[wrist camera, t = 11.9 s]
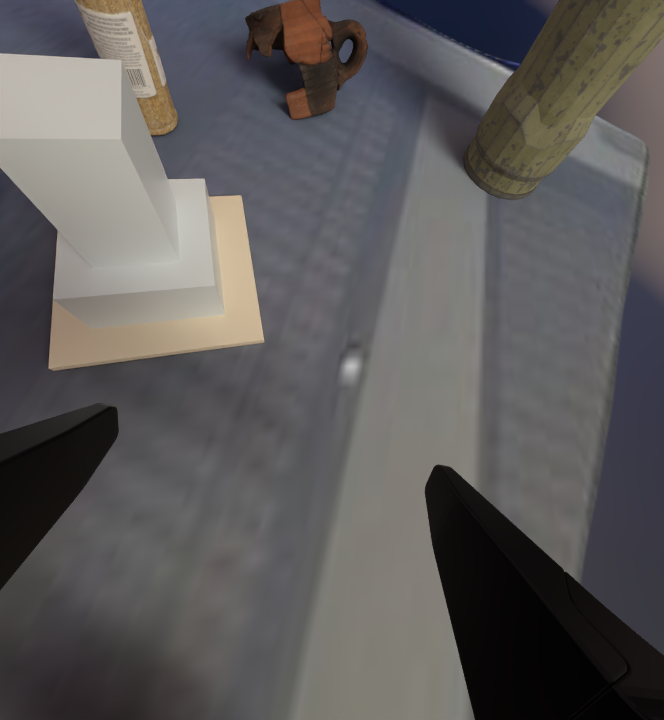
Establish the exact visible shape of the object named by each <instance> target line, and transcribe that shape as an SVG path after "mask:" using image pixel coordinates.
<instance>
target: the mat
mask: <svg viewBox="0 0 664 720" xmlns="http://www.w3.org/2000/svg"><path fill="white" fill-rule="evenodd" d="M209 198H210V202H211V206H212V210H213V214H214V218H215V224H216V233H217V242H218V251H219V261H220V270H221V279H222V288H223V298H224V307H225V315H219V316H209V317H200V318H190V319H181V320H171V321H162V322H152V323H143V324H133V325H124V326H114V327H104V328H95V329H91V328H90V327H88V326H87V325H86V324H84V323H83V322H82V321H80V320H79V319H78V318H76V317H75V316H74V315H72V314H71V313H70V312H68V311H67V310H66V309H64V308H63V307H62V306H61V305H59V304H58V303H57V302H55V301H54V300H53V307H52V323H51V338H50V353H49V368H48V369H51V370H53V371H56V370H63V369H71V368H78V367H86V366H93V365H101V364H108V363H115V362H123V361H130V360H138V359H145V358H152V357H160V356H167V355H175V354H182V353H190V352H197V351H204V350H212V349H219V348H227V347H234V346H241V345H249V344H256V343H264V337H263V331H262V325H261V318H260V312H259V306H258V299H257V293H256V286H255V280H254V274H253V267H252V261H251V254H250V248H249V242H248V235H247V229H246V223H245V216H244V210H243V203H242V197H241V196H214V197H209ZM57 239H58V232H57ZM56 251H57V247H56ZM55 264H56V262H55Z"/></svg>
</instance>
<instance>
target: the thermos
mask: <svg viewBox="0 0 664 720" xmlns="http://www.w3.org/2000/svg"><path fill="white" fill-rule="evenodd" d="M663 37H664V0H559V1H558V3H557V5H556V6H555V8H554V10H553V11H552V13H551V15H550V16H549V18H548V20H547V22H546V23H545V25H544V27H543V28H542V30H541V32H540V34H539V35H538V37H537V38H536V40H535V42H534V44H533V46H532V47H531V49H530V50H529V52H528V54H527V56H526V57H525V59H524V60H523V62H522V64H521V66H520V67H519V68H518V69H517V70H516V71H515V72H514V73H513V74H512V75H511V76H510V77H509V78H508V80H507V81H506V83H505V84H504V85H503V87H502V88H501V90H500V91H499V92H498V94H497V95H496V97H495V98H494V100H493V102H492V104H491V105H490V107H489V109H488V111H487V112H486V114H485V116H484V118H483V119H482V121H481V123H480V125H479V126H478V130H477V133H476V136H475V138H474V140H473V141H472V143H471V144H470V146H469V147H468V149H467V150H466V153H465V156H464V164H465V169H466V171H467V173H468V174H469V176H470V178H471V179H472V180H473V181H474V182H475V183H476V184H477V185H478V186H479V187H480V188H482V189H483V190H485V191H486V192H487V193H489V194H492V195H494V196H496V197H499V198H503V199H509V200H516V199H522V198H524V197H526V196H528V195H530V194H531V193H532V192H533V191H534V189H535V188H536V186H537V185H538V184H539V183H540V182H541V181H542V179H543V178H545V177H546V176H548V175H550V174H551V173H552V172H553V171H554V170H555V168H556V167H557V166H558V165H559V164H560V163H561V162H562V161H563V160H564V158H565V157H566V156H567V155H568V154H569V153H570V152H571V151H572V150H573V149H574V147H575V146H576V145H577V144H578V143H579V142H580V141H581V140H582V139H583V137H584V136H585V135H586V133H587V131H588V129H589V127H590V125H591V123H592V121H593V119H594V117H595V115H596V114H597V112H598V111H599V110H600V109H601V108H602V107H603V105H604V104H605V103H606V102H607V101H608V100H609V99H610V97H611V96H612V95H613V94H614V93H615V92H616V91H617V90H618V89H619V87H620V86H621V85H622V84H623V83H624V82H625V80H626V79H627V78H628V77H629V76H630V75H631V74H632V73H633V71H634V70H635V69H636V68H637V67H638V66H639V65H640V64H641V62H642V61H643V60H644V59H645V58H646V57H647V56H648V54H649V53H650V52H651V51H652V50H653V49H654V48H655V47H656V45H657V44H658V43H659V42H660V41H661V40H662V39H663Z"/></svg>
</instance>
